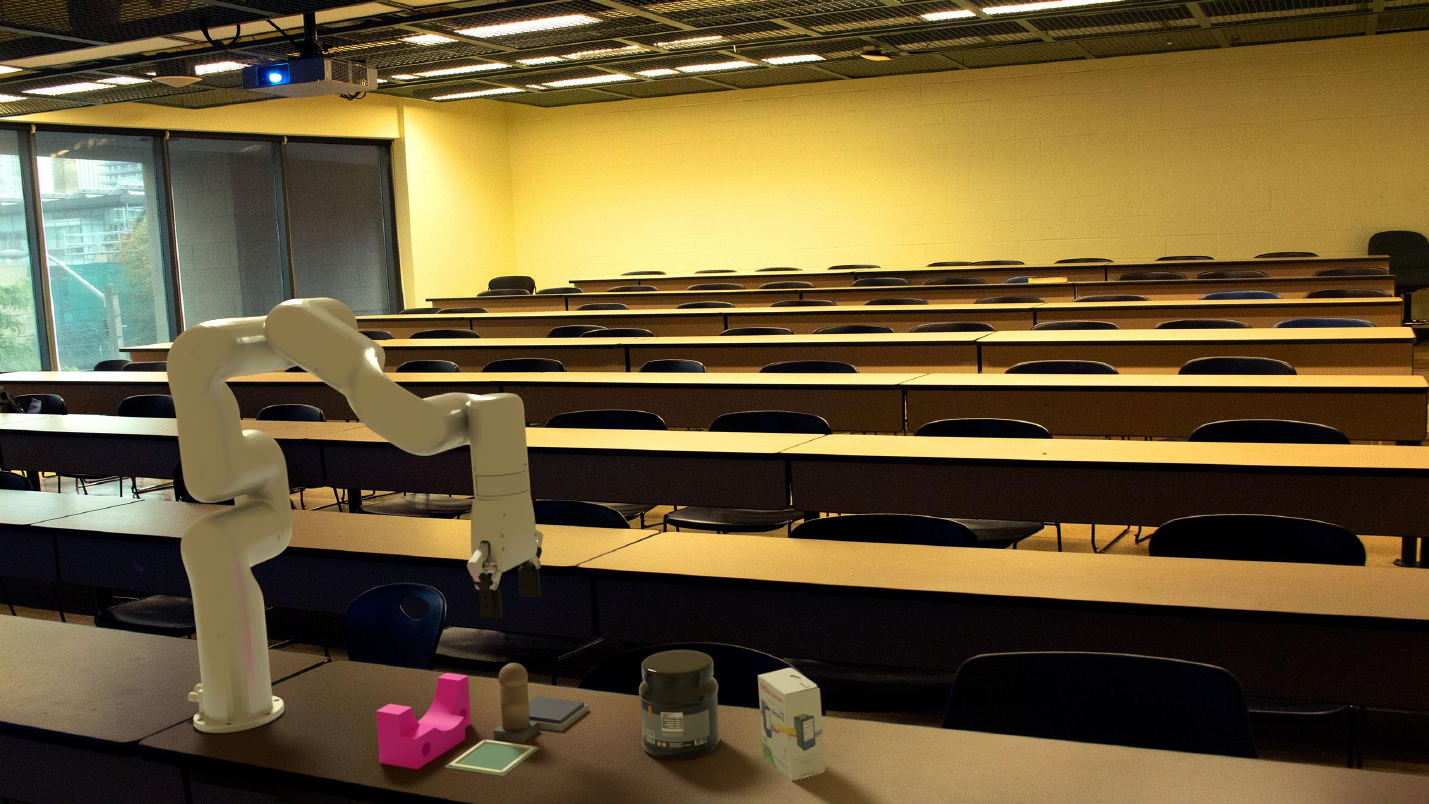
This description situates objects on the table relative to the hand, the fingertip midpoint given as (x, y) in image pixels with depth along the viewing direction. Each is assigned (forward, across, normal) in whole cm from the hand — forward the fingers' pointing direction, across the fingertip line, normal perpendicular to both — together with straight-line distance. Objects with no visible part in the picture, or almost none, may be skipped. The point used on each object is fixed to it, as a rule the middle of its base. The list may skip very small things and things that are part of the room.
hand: (511, 606), depth 155 cm
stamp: (+19, 0, -1) cm, 19 cm away
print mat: (+19, +8, 0) cm, 20 cm away
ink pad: (+19, -7, 0) cm, 20 cm away
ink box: (+20, -1, +39) cm, 44 cm away
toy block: (+19, +6, -10) cm, 22 cm away
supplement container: (+19, -3, +23) cm, 30 cm away
